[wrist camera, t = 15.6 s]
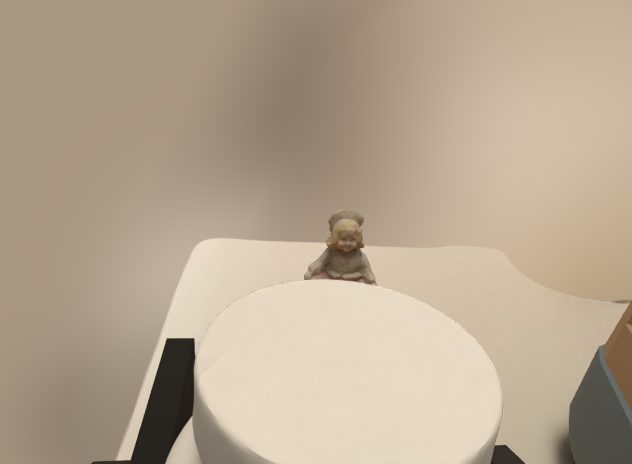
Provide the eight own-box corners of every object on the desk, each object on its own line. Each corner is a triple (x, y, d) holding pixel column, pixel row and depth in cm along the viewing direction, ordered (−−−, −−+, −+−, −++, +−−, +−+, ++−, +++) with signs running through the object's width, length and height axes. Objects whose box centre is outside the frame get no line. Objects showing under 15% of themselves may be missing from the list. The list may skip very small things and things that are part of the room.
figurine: (283, 383, 39) (283, 210, 37) (266, 344, 48) (266, 205, 47) (398, 371, 41) (402, 209, 40) (361, 336, 51) (363, 205, 49)
